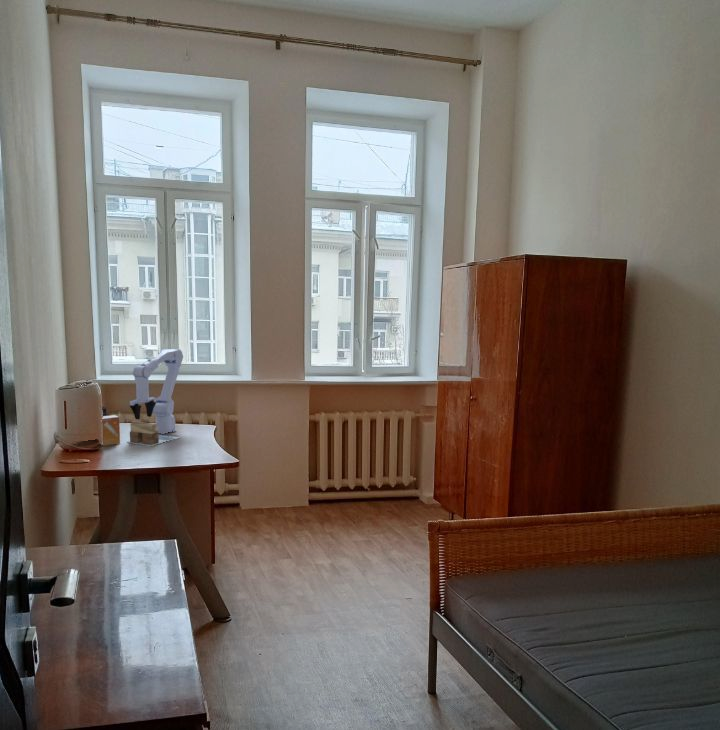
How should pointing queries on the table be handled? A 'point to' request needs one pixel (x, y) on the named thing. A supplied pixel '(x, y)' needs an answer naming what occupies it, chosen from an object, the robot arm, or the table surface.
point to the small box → (111, 430)
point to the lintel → (144, 427)
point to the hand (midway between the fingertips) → (143, 417)
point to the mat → (161, 440)
